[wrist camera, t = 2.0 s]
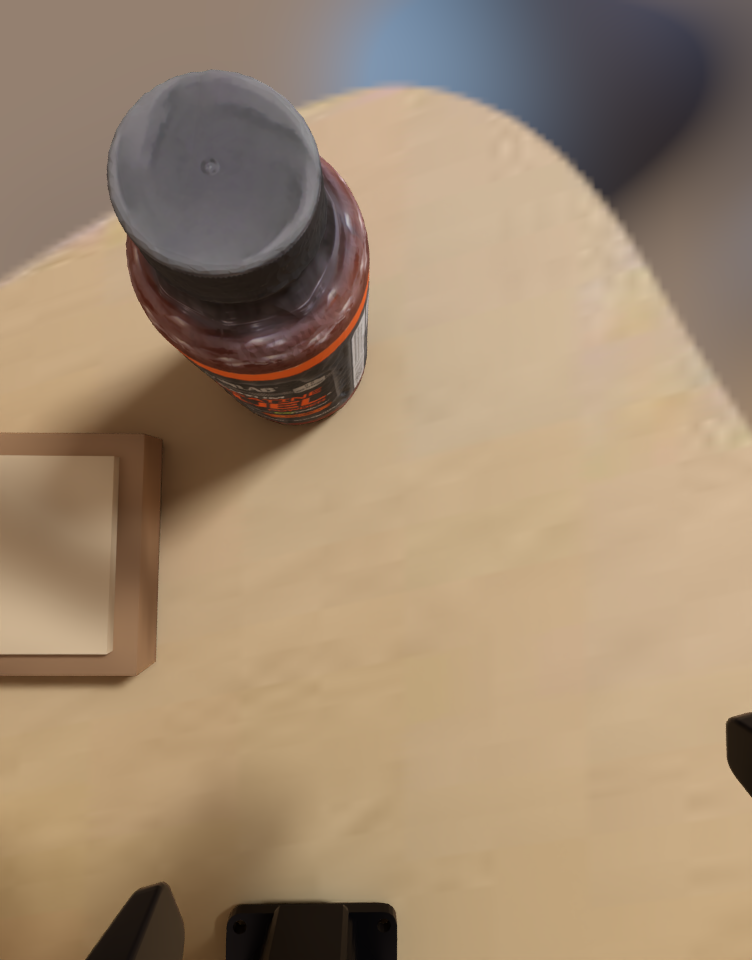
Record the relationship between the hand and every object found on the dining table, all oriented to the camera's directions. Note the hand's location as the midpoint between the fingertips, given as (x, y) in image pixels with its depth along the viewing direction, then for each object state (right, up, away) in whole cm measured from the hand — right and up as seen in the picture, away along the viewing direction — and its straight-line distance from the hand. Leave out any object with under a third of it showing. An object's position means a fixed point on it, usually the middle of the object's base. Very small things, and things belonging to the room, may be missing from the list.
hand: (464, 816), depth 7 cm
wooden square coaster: (-15, +2, +12) cm, 19 cm away
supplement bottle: (-5, +10, +13) cm, 17 cm away
